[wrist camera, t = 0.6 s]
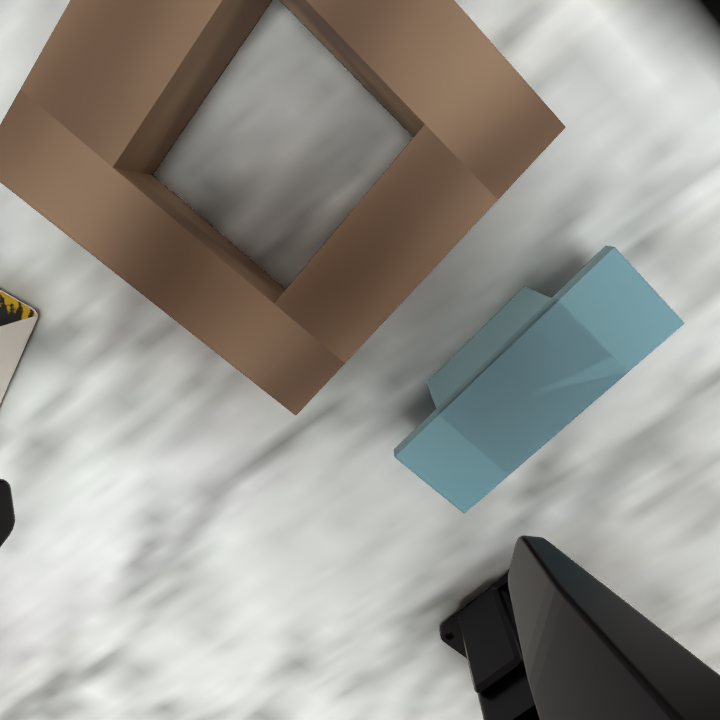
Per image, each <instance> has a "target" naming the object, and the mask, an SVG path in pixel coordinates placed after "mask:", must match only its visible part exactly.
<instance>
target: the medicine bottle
mask: <svg viewBox="0 0 720 720" xmlns="http://www.w3.org/2000/svg"><path fill="white" fill-rule="evenodd" d="M37 317H38V314H37V312H36V311H35V310H34V309H33V308H32V307H30V306H28V305H26V304H25V303H23V302H21V301H19V300H18V299H16V298H14V297H12V296H11V295H9V294H7V293H5V292H4V291H2V290H0V403H1V401H2V398H3V396H4V394H5V392H6V389H7V387H8V385H9V382H10V380H11V378H12V375H13V373H14V371H15V369H16V366H17V364H18V362H19V359H20V357H21V355H22V353H23V350H24V348H25V346H26V343H27V341H28V339H29V336H30V334H31V332H32V330H33V327H34V325H35V323H36V320H37Z"/></svg>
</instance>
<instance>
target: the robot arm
mask: <svg viewBox="0 0 720 720" xmlns="http://www.w3.org/2000/svg"><path fill="white" fill-rule="evenodd" d="M14 523H15V515H14V508H13V501H12V494H11V487H10V485H9V483H8V482H7V481H6V480H4V479H0V547H1V545H2V544H3V543H4V542H5V540H6V539H7V538H8V536H9V535H10V533H11V531H12V529H13V527H14ZM440 636H441V639H442V640H443V641H444V642H445V643H446V644H448V645H449V646H451V647H452V648H453V649H455V650H456V651H457V652H459V653H460V654H462V655H463V656H464V657H466V658H467V659H468V663H469V668H470V672H471V676H472V681H473V685H474V689H475V691H476V692H477V693H478V698H479V702H480V706H481V710H482V715H483V719H484V720H720V675H719V674H718V673H716V672H715V671H714V670H712V669H711V668H710V667H709V666H707V665H706V664H705V663H703V662H702V661H701V660H700V659H698V658H697V657H696V656H694V655H693V654H692V653H691V652H689V651H688V650H687V649H685V648H684V647H683V646H682V645H680V644H679V643H678V642H676V641H675V640H674V639H673V638H671V637H670V636H669V635H668V634H666V633H665V632H664V631H662V630H661V629H660V628H659V627H657V626H656V625H655V624H653V623H652V622H651V621H650V620H648V619H647V618H646V617H644V616H643V615H642V614H641V613H639V612H638V611H637V610H635V609H634V608H633V607H632V606H630V605H629V604H628V603H627V602H625V601H624V600H623V599H621V598H620V597H619V596H618V595H616V594H615V593H614V592H612V591H611V590H610V589H609V588H607V587H606V586H605V585H603V584H602V583H601V582H600V581H598V580H597V579H596V578H594V577H593V576H592V575H591V574H589V573H588V572H587V571H585V570H584V569H583V568H582V567H580V566H579V565H578V564H577V563H575V562H574V561H573V560H571V559H570V558H569V557H568V556H566V555H565V554H564V553H562V552H561V551H560V550H559V549H557V548H556V547H555V546H553V545H552V544H551V543H550V542H548V541H547V540H546V539H544V538H541V537H532V536H521V537H519V538H518V540H517V542H516V545H515V549H514V553H513V557H512V561H511V565H510V569H509V573H508V574H506V575H505V576H504V577H503V578H501V579H500V580H499V581H497V582H496V583H495V584H494V585H492V586H491V587H490V588H489V589H487V590H486V591H485V592H484V593H482V594H481V595H480V596H478V597H477V598H476V599H475V600H473V601H472V602H471V603H470V604H468V605H467V606H466V607H464V608H463V609H462V610H461V611H459V612H458V613H457V614H456V615H454V616H453V617H452V618H451V619H449V620H448V621H447V622H445V623H444V624H443V625H442V626H441V627H440Z"/></svg>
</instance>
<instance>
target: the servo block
mask: <svg viewBox="0 0 720 720" xmlns="http://www.w3.org/2000/svg"><path fill="white" fill-rule="evenodd" d="M683 324H684V322H683V321H682V320H681V319H680V318H679V317H678V315H677V314H676V313H675V312H674V311H673V310H672V309H671V308H670V307H669V306H668V305H667V303H666V302H665V301H664V300H663V299H662V298H661V297H660V296H659V295H658V294H657V293H656V291H655V290H654V289H653V288H652V287H651V286H650V285H649V284H648V283H647V282H646V281H645V279H644V278H643V277H642V276H641V275H640V274H639V273H638V272H637V271H636V270H635V269H634V267H633V266H632V265H631V264H630V263H629V262H628V261H627V260H626V259H625V258H624V257H623V255H622V254H621V253H620V252H619V251H618V250H617V249H616V248H615V247H611V246H605V247H604V248H603V249H602V250H601V251H600V252H599V253H598V254H597V255H596V256H594V257H593V258H592V259H591V260H590V261H589V262H588V263H587V264H586V265H585V266H584V267H583V268H582V269H581V270H580V271H579V272H578V273H577V274H576V275H575V276H574V277H573V278H572V279H571V280H570V281H569V282H567V283H566V284H565V285H564V286H563V287H562V288H561V289H560V290H559V291H558V292H557V293H556V294H555V295H554V296H553V297H552V298H551V297H548V296H546V295H544V294H541V293H539V292H537V291H534V290H532V289H530V288H527V287H525V286H524V287H523V288H522V289H521V290H520V291H519V292H518V293H517V294H516V295H515V296H514V297H513V298H512V299H511V300H510V301H509V302H508V303H507V304H506V305H505V306H504V307H503V308H502V309H501V310H500V311H499V312H498V313H497V314H496V315H495V316H494V317H493V318H492V319H491V320H490V321H489V322H488V323H487V324H486V325H485V326H484V327H483V328H482V329H481V330H480V331H479V332H478V333H477V334H476V335H475V336H474V337H473V338H472V339H470V340H469V341H468V342H467V343H466V344H465V345H464V346H463V347H462V348H461V349H460V350H459V351H458V352H457V353H456V354H455V355H454V356H453V357H452V358H451V359H450V360H449V361H448V362H447V363H446V364H445V365H444V366H443V367H442V368H441V369H440V370H439V371H438V372H437V373H436V374H435V375H434V376H433V377H432V378H431V379H430V380H429V381H428V382H427V385H428V388H429V390H430V393H431V396H432V398H433V401H434V404H435V406H436V409H435V410H434V411H433V412H432V413H431V414H430V415H429V416H428V417H427V418H426V419H425V420H424V421H423V422H422V423H421V424H420V425H419V426H418V427H417V428H416V429H415V430H414V431H413V432H412V433H410V434H409V435H408V436H407V437H406V438H405V439H404V440H403V441H402V442H401V443H400V444H399V445H398V446H397V447H396V448H395V449H394V456H395V458H396V459H398V460H399V461H400V462H401V463H402V464H404V465H405V466H406V467H407V468H409V469H410V470H411V471H412V472H414V473H415V474H416V475H417V476H418V477H420V478H421V479H422V480H423V481H425V482H426V483H427V484H428V485H430V486H431V487H432V488H433V489H434V490H436V491H437V492H438V493H439V494H441V495H442V496H443V497H444V498H446V499H447V500H448V501H449V502H450V503H452V504H453V505H454V506H455V507H457V508H458V509H459V510H460V511H462V512H463V513H465V512H467V511H468V510H469V509H470V508H471V507H472V506H474V505H475V504H476V503H477V502H478V501H479V500H481V499H482V498H483V497H484V496H485V495H486V494H487V493H489V492H490V491H491V490H492V489H493V488H494V487H496V486H497V485H498V484H499V483H500V482H501V481H503V480H504V479H505V478H506V477H507V476H508V475H509V474H511V473H512V472H513V471H514V470H515V469H516V468H518V467H519V466H520V465H521V464H522V463H523V462H525V461H526V460H527V459H528V458H529V457H530V456H531V455H533V454H534V453H535V452H536V451H537V450H538V449H540V448H541V447H542V446H543V445H544V444H545V443H547V442H548V441H549V440H550V439H551V438H552V437H553V436H555V435H556V434H557V433H558V432H559V431H560V430H562V429H563V428H564V427H565V426H566V425H567V424H569V423H570V422H571V421H572V420H573V419H574V418H575V417H577V416H578V415H579V414H580V413H581V412H582V411H584V410H585V409H586V408H587V407H588V406H589V405H591V404H592V403H593V402H594V401H595V400H596V399H597V398H599V397H600V396H601V395H602V394H603V393H604V392H606V391H607V390H608V389H609V388H610V387H611V386H612V385H614V384H615V383H616V382H617V381H618V380H619V379H621V378H622V377H623V376H624V375H625V374H626V373H628V372H629V371H630V370H631V369H632V368H633V367H634V366H636V365H637V364H638V363H639V362H640V361H641V360H643V359H644V358H645V357H646V356H647V355H648V354H650V353H651V352H652V351H653V350H654V349H655V348H656V347H658V346H659V345H660V344H661V343H662V342H663V341H665V340H666V339H667V338H668V337H669V336H670V335H672V334H673V333H674V332H675V331H676V330H677V329H678V328H680V327H681V326H682V325H683Z"/></svg>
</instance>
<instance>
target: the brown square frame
mask: <svg viewBox="0 0 720 720" xmlns="http://www.w3.org/2000/svg"><path fill="white" fill-rule="evenodd" d="M271 1H272V0H70V2H69V4H68V6H67V8H66V9H65V11H64V13H63V15H62V16H61V18H60V20H59V22H58V24H57V25H56V27H55V29H54V31H53V32H52V34H51V36H50V38H49V39H48V41H47V43H46V45H45V47H44V48H43V50H42V52H41V54H40V55H39V57H38V59H37V61H36V62H35V64H34V66H33V68H32V70H31V71H30V73H29V75H28V77H27V78H26V80H25V82H24V84H23V86H22V87H21V89H20V91H19V93H18V94H17V96H16V98H15V100H14V101H13V103H12V105H11V107H10V109H9V110H8V112H7V114H6V116H5V117H4V119H3V121H2V123H1V124H0V182H1V183H2V184H3V185H5V186H6V187H7V188H8V189H10V190H11V191H12V192H13V193H15V194H16V195H17V196H19V197H20V198H21V199H22V200H24V201H25V202H26V203H27V204H29V205H30V206H31V207H32V208H34V209H35V210H36V211H38V212H39V213H40V214H41V215H43V216H44V217H45V218H46V219H48V220H49V221H50V222H51V223H53V224H54V225H55V226H57V227H58V228H59V229H60V230H62V231H63V232H64V233H65V234H67V235H68V236H69V237H70V238H72V239H73V240H74V241H75V242H77V243H78V244H79V245H81V246H82V247H83V248H84V249H86V250H87V251H88V252H89V253H91V254H92V255H93V256H94V257H96V258H97V259H98V260H100V261H101V262H102V263H103V264H105V265H106V266H107V267H108V268H110V269H111V270H112V271H113V272H115V273H116V274H117V275H119V276H120V277H121V278H122V279H124V280H125V281H126V282H127V283H129V284H130V285H131V286H132V287H134V288H135V289H136V290H138V291H139V292H140V293H141V294H143V295H144V296H145V297H146V298H148V299H149V300H150V301H151V302H153V303H154V304H155V305H156V306H158V307H159V308H160V309H162V310H163V311H164V312H165V313H167V314H168V315H169V316H170V317H172V318H173V319H174V320H175V321H177V322H178V323H179V324H181V325H182V326H183V327H184V328H186V329H187V330H188V331H189V332H191V333H192V334H193V335H194V336H196V337H197V338H198V339H200V340H201V341H202V342H203V343H205V344H206V345H207V346H208V347H210V348H211V349H212V350H213V351H215V352H216V353H217V354H218V355H220V356H221V357H222V358H224V359H225V360H226V361H227V362H229V363H230V364H231V365H232V366H234V367H235V368H236V369H237V370H239V371H240V372H241V373H243V374H244V375H245V376H246V377H248V378H249V379H250V380H251V381H253V382H254V383H255V384H256V385H258V386H259V387H260V388H262V389H263V390H264V391H265V392H267V393H268V394H269V395H270V396H272V397H273V398H274V399H275V400H277V401H278V402H279V403H281V404H282V405H283V406H284V407H286V408H287V409H288V410H289V411H291V412H292V413H293V414H294V415H297V414H298V413H299V412H300V411H301V410H302V408H303V407H304V406H305V405H306V404H307V403H308V402H309V401H310V400H311V399H312V398H313V397H314V396H315V395H316V394H317V392H318V391H319V390H320V389H321V388H322V387H323V386H324V385H325V384H326V383H327V382H328V381H329V380H330V379H331V377H332V376H333V375H334V374H335V373H336V372H337V371H338V370H339V369H340V368H341V367H342V366H343V365H344V364H345V363H346V361H347V360H348V359H349V358H350V357H351V356H352V355H353V354H354V353H355V352H356V351H357V350H358V349H359V348H360V346H361V345H362V344H363V343H364V342H365V341H366V340H367V339H368V338H369V337H370V336H371V335H372V334H373V333H374V332H375V330H376V329H377V328H378V327H379V326H380V325H381V324H382V323H383V322H384V321H385V320H386V319H387V318H388V317H389V315H390V314H391V313H392V312H393V311H394V310H395V309H396V308H397V307H398V306H399V305H400V304H401V303H402V302H403V301H404V299H405V298H406V297H407V296H408V295H409V294H410V293H411V292H412V291H413V290H414V289H415V288H416V287H417V286H418V284H419V283H420V282H421V281H422V280H423V279H424V278H425V277H426V276H427V275H428V274H429V273H430V272H431V271H432V270H433V268H434V267H435V266H436V265H437V264H438V263H439V262H440V261H441V260H442V259H443V258H444V257H445V256H446V255H447V253H448V252H449V251H450V250H451V249H452V248H453V247H454V246H455V245H456V244H457V243H458V242H459V241H460V240H461V239H462V237H463V236H464V235H465V234H466V233H467V232H468V231H469V230H470V229H471V228H472V227H473V226H474V225H475V224H476V222H477V221H478V220H479V219H480V218H481V217H482V216H483V215H484V214H485V213H486V212H487V211H488V210H489V209H490V208H491V206H492V205H493V204H494V203H495V202H496V201H497V200H498V199H499V198H500V197H501V196H502V195H503V194H504V193H505V191H506V190H507V189H508V188H509V187H510V186H511V185H512V184H513V183H514V182H515V181H516V180H517V179H518V178H519V177H520V175H521V174H522V173H523V172H524V171H525V170H526V169H527V168H528V167H529V166H530V165H531V164H532V163H533V162H534V160H535V159H536V158H537V157H538V156H539V155H540V154H541V153H542V152H543V151H544V150H545V149H546V148H547V147H548V146H549V144H550V143H551V142H552V141H553V140H554V139H555V138H556V137H557V136H558V135H559V134H560V133H561V132H562V131H563V129H564V128H565V126H564V125H563V123H562V122H561V121H560V120H559V119H558V118H557V117H556V115H555V114H554V113H553V112H552V111H551V110H550V109H549V108H548V106H547V105H546V104H545V103H544V102H543V101H542V100H541V98H540V97H539V96H538V95H537V94H536V93H535V92H534V90H533V89H532V88H531V87H530V86H529V85H528V84H527V83H526V81H525V80H524V79H523V78H522V77H521V76H520V75H519V73H518V72H517V71H516V70H515V69H514V68H513V67H512V65H511V64H510V63H509V62H508V61H507V60H506V59H505V57H504V56H503V55H502V54H501V53H500V52H499V51H498V50H497V48H496V47H495V46H494V45H493V44H492V43H491V42H490V40H489V39H488V38H487V37H486V36H485V35H484V34H483V32H482V31H481V30H480V29H479V28H478V27H477V26H476V25H475V23H474V22H473V21H472V20H471V19H470V18H469V17H468V15H467V14H466V13H465V12H464V11H463V10H462V9H461V7H460V6H459V5H458V4H457V3H456V2H455V1H454V0H280V1H281V2H282V3H283V4H284V5H285V6H286V7H287V8H288V9H289V10H290V11H291V12H292V13H293V14H294V15H295V16H296V17H297V18H298V19H299V20H300V21H301V22H302V23H303V24H304V25H305V26H306V27H307V28H308V29H309V30H310V32H311V33H312V34H313V35H314V36H315V37H316V38H317V39H318V40H319V41H320V42H321V43H322V44H323V45H324V46H325V47H326V48H327V49H328V50H329V51H330V52H331V53H332V54H333V55H334V56H335V57H336V58H337V59H338V60H339V61H340V62H341V63H342V64H343V65H344V66H345V67H346V68H347V69H348V70H349V71H350V72H351V73H352V74H353V75H354V77H355V78H356V79H357V80H358V81H359V82H360V83H361V84H362V85H363V86H364V87H365V88H366V89H367V90H368V91H369V92H370V93H371V94H372V95H373V96H374V97H375V98H376V99H377V100H378V101H379V102H380V103H381V104H382V105H383V106H384V107H385V108H386V109H387V110H388V111H389V112H390V113H391V114H392V115H393V116H394V117H395V118H396V119H397V120H398V122H399V123H400V124H401V125H402V126H403V127H404V128H405V129H406V130H407V131H408V132H409V133H410V134H411V135H412V136H413V137H414V138H413V139H412V140H411V141H410V143H409V144H408V145H407V146H406V147H405V148H404V150H403V151H402V152H401V153H400V154H399V156H398V157H397V158H396V159H395V160H394V162H393V163H392V164H391V165H390V166H389V167H388V169H387V170H386V171H385V172H384V173H383V175H382V176H381V177H380V178H379V179H378V181H377V182H376V183H375V184H374V185H373V187H372V188H371V189H370V190H369V191H368V192H367V194H366V195H365V196H364V197H363V198H362V200H361V201H360V202H359V203H358V204H357V206H356V207H355V208H354V209H353V210H352V211H351V213H350V214H349V215H348V216H347V217H346V219H345V220H344V221H343V222H342V223H341V225H340V226H339V227H338V228H337V229H336V230H335V232H334V233H333V234H332V235H331V236H330V238H329V239H328V240H327V241H326V242H325V244H324V245H323V246H322V247H321V248H320V249H319V251H318V252H317V253H316V254H315V255H314V257H313V258H312V259H311V260H310V261H309V263H308V264H307V265H306V266H305V267H304V268H303V270H302V271H301V272H300V273H299V274H298V276H297V277H296V278H295V279H294V280H293V282H292V283H291V284H290V285H289V286H288V287H287V289H286V290H285V289H284V288H283V287H282V286H281V285H280V284H278V283H277V282H276V281H275V280H274V279H273V278H272V277H270V276H269V275H268V274H267V273H266V272H265V271H263V270H262V269H261V268H260V267H259V266H258V265H256V264H255V263H254V262H253V261H252V260H251V259H249V258H248V257H247V256H246V255H245V254H244V253H242V252H241V251H240V250H239V249H238V248H237V247H235V246H234V245H233V244H232V243H231V242H230V241H228V240H227V239H226V238H225V237H224V236H223V235H221V234H220V233H219V232H218V231H217V230H216V229H214V228H213V227H212V226H211V225H210V224H209V223H207V222H206V221H205V220H204V219H203V218H202V217H200V216H199V215H198V214H197V213H196V212H195V211H193V210H192V209H191V208H190V207H189V206H188V205H186V204H185V203H184V202H183V201H182V200H181V199H179V198H178V197H177V196H176V195H175V194H174V193H172V192H171V191H170V190H169V189H168V188H167V187H166V186H164V185H163V184H162V183H161V182H160V181H159V180H157V179H156V178H155V177H154V176H153V175H152V174H153V173H154V172H155V170H156V169H157V167H158V166H159V164H160V163H161V161H162V160H163V158H164V157H165V155H166V154H167V153H168V151H169V150H170V148H171V147H172V145H173V144H174V142H175V141H176V139H177V138H178V137H179V135H180V134H181V132H182V131H183V129H184V128H185V126H186V125H187V123H188V122H189V121H190V119H191V118H192V116H193V115H194V113H195V112H196V110H197V109H198V107H199V106H200V104H201V103H202V102H203V100H204V99H205V97H206V96H207V94H208V93H209V91H210V90H211V88H212V87H213V86H214V84H215V83H216V81H217V80H218V78H219V77H220V75H221V74H222V72H223V71H224V70H225V68H226V67H227V65H228V64H229V62H230V61H231V59H232V58H233V56H234V55H235V53H236V52H237V51H238V49H239V48H240V46H241V45H242V43H243V42H244V40H245V39H246V37H247V36H248V35H249V33H250V32H251V30H252V29H253V27H254V26H255V24H256V23H257V21H258V20H259V19H260V17H261V16H262V14H263V13H264V11H265V10H266V8H267V7H268V5H269V4H270V2H271Z"/></svg>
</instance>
